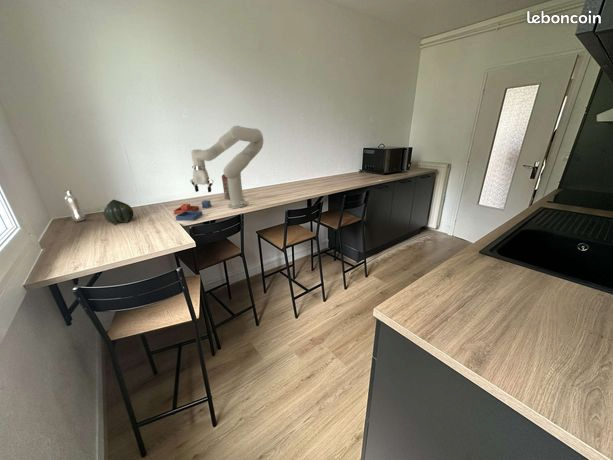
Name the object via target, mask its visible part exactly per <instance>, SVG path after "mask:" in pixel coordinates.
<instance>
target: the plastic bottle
mask: <svg viewBox="0 0 613 460" xmlns="http://www.w3.org/2000/svg"><path fill="white" fill-rule="evenodd" d="M64 195H65V196H64V199H63V200H64V202H65V204H66V205H67V207H68V209H69V212H70V215H71V216H70V217H71V220H72V221H73V222H75V223H76V222H83V221H85V220H86V215H85V213H84V211H83V209H82V207H81V205H80V199H79V197H78V196H77V195H76V194H74V191H73V190H72V189H69V190H68V189H67V190H64Z"/></svg>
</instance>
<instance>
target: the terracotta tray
mask: <svg viewBox="0 0 613 460" xmlns="http://www.w3.org/2000/svg"><path fill="white" fill-rule="evenodd" d="M190 206H191V210H190V211H200V206H199V205H190ZM183 212H184V210H181V206H179V207H178V208H175V209H173V214H174V215H179V214H181V213H183Z"/></svg>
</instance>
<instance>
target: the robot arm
mask: <svg viewBox="0 0 613 460" xmlns="http://www.w3.org/2000/svg"><path fill="white" fill-rule="evenodd" d="M241 141H242V142H249V143H248V144H247V145H246V147H244V149H243V150H241V151H240V152H239V153H237V154H236V155H235V156H234V157H233V158H232V159H231V160H230V161H229V162H228V163H227V164H226V165H225V166H224V167H223V174H224V175H225V176H226V177H227V179H228V188H229V195H230V200H229V201H230V203H229V204H228V207H229V208H231V209H239V208H244V207H245V206H247V205H249V203H250V201H248V200H245V198H244V193H243V185H242V173H241V172H242V171H244V170H245V169H246V168H247V167H248V166H249V164H250V163H251V161H252V160H253V159H255V157H256V156H257V155H258V154H259V153H260V152H261V151H262V148H263V146H264V136H263V133H262V131H261V130H260V129H258V128H251V127H245V126H240V125H233V126H232V127H231V128H230V129H229V130H228V131H227V132H226V133H224V134H223V135H221V136H220V137H219V139H218V141H217V142H216V143H214V144H213V145H212V146H211V147H209V148H206V149H198V148H197V149H192V150H191V158H192V164H193V165H192V166H191V167H192V169H193V170H192V178H191V179H189V181H190V183H191V185H192V186H193V187H194V191H195V193H197V192H199V191H200V190H199V186H198V185H200V186H202V185H203V186H205V185H206V186H207V193H211V192H212V186H213V184H214V182H215V181H214V180H213V179H211V178H210V176H209V172H208V170H207V168H206V162H211V161H213V160H215V159H217V158H218V157H219V156H220V155H221V154H223V153H224V152H225V151H227V150H229V149H230V148H232V146H234V145H235V144H237V143H238V142H241Z"/></svg>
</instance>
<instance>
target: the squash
mask: <svg viewBox="0 0 613 460" xmlns="http://www.w3.org/2000/svg"><path fill="white" fill-rule="evenodd" d="M104 207H105V208H104V210H103V216H104V218H105V220H106V221H107V222H108V223H110V224H111V225H117V224H120V223H130V221H131V220H132V219H133V218H134V210H133V208H132V206H131V205H129V204H127V203H125V202H123V201H119V200H117V199H112V200H110V201H109V203H108V204H106V205H105V206H104Z"/></svg>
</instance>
